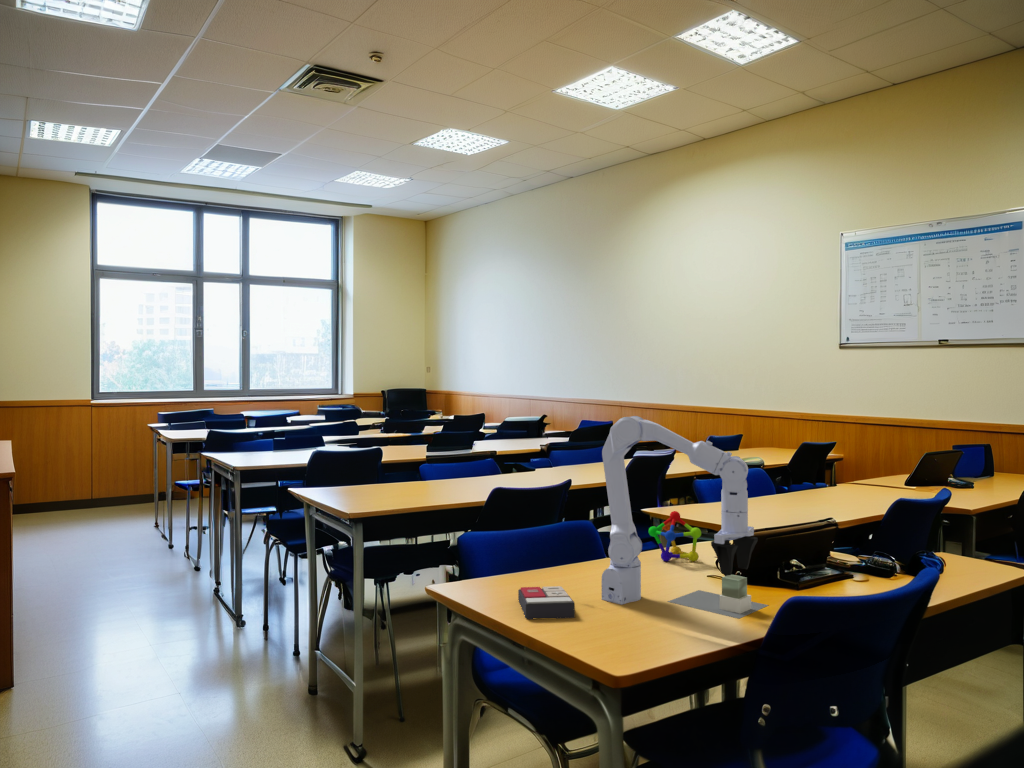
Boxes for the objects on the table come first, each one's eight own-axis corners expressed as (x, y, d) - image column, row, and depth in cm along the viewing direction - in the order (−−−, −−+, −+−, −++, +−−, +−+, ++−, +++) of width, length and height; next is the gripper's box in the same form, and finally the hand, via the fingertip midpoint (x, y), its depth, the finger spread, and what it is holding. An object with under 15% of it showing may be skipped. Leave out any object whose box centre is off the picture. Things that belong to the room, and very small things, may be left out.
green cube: (738, 598, 157) (738, 580, 158) (721, 595, 160) (721, 577, 160) (746, 595, 160) (746, 577, 160) (730, 591, 163) (730, 574, 163)
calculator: (563, 584, 172) (575, 599, 157) (563, 602, 172) (575, 618, 157) (518, 585, 171) (525, 600, 156) (518, 604, 171) (525, 620, 156)
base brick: (740, 613, 157) (740, 599, 157) (719, 608, 160) (719, 595, 160) (751, 608, 160) (751, 595, 160) (730, 604, 164) (730, 591, 164)
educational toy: (642, 563, 213) (639, 512, 215) (671, 557, 221) (667, 508, 222) (683, 567, 201) (679, 514, 202) (712, 561, 209) (708, 509, 210)
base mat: (739, 623, 153) (738, 618, 153) (667, 605, 166) (667, 601, 166) (768, 609, 163) (768, 605, 163) (698, 594, 176) (698, 590, 176)
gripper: (735, 516, 153) (735, 580, 152) (766, 509, 163) (766, 568, 163) (705, 513, 158) (706, 574, 157) (737, 506, 168) (737, 563, 168)
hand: (734, 571), depth 160 cm, fingers open, 7 cm apart
